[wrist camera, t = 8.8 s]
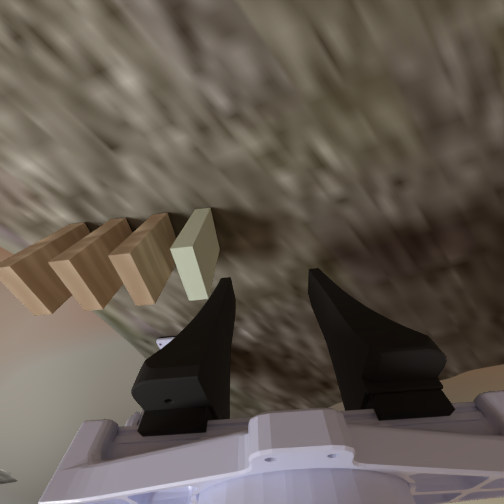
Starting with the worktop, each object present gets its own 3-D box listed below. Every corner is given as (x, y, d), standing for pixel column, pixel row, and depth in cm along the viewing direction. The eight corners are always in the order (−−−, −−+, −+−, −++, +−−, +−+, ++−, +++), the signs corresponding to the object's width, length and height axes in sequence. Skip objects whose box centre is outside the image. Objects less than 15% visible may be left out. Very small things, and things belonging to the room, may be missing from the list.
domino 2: (125, 217, 22) (68, 259, 15) (144, 257, 24) (103, 309, 17) (110, 219, 22) (47, 262, 15) (130, 258, 24) (84, 310, 17)
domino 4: (210, 207, 21) (192, 246, 14) (219, 249, 24) (208, 298, 17) (195, 209, 21) (169, 248, 14) (206, 250, 24) (189, 300, 17)
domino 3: (167, 212, 21) (129, 253, 14) (181, 253, 24) (154, 304, 17) (152, 214, 21) (107, 255, 15) (168, 254, 24) (136, 305, 17)
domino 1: (84, 222, 22) (9, 266, 15) (107, 261, 24) (52, 314, 17) (69, 224, 22) (-12, 268, 15) (94, 262, 24) (34, 315, 18)
